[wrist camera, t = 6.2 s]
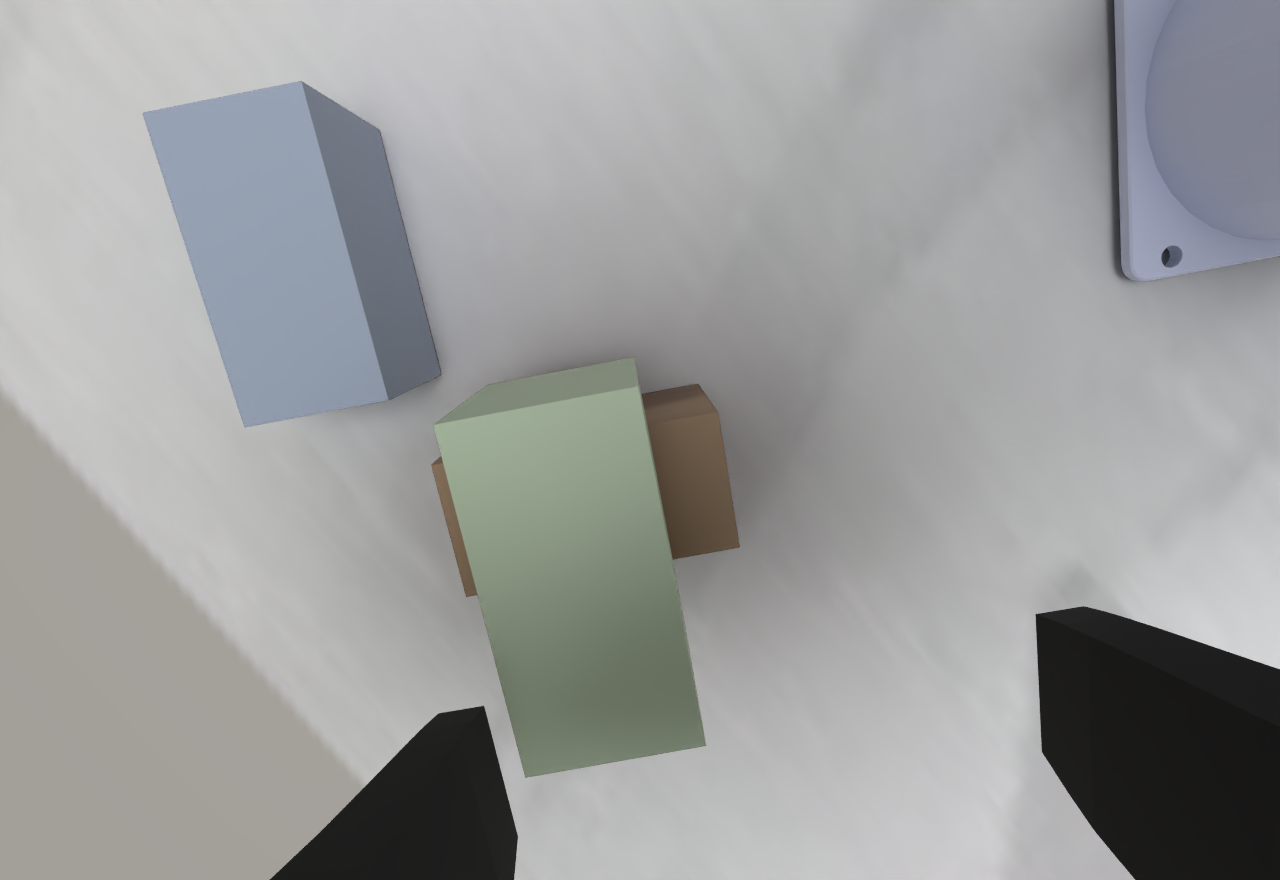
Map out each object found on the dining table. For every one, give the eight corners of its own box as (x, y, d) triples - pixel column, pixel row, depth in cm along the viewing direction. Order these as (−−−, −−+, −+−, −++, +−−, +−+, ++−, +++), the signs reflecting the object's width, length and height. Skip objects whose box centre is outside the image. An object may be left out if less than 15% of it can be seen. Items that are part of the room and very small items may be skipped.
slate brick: (257, 153, 16) (142, 112, 12) (378, 129, 16) (300, 80, 12) (328, 395, 18) (244, 427, 14) (440, 374, 18) (388, 400, 14)
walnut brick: (698, 383, 18) (717, 411, 14) (715, 491, 18) (739, 546, 15) (473, 425, 18) (431, 465, 14) (499, 531, 19) (466, 596, 15)
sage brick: (684, 625, 15) (705, 745, 11) (551, 649, 15) (525, 777, 11) (634, 357, 14) (637, 386, 10) (488, 384, 14) (432, 425, 10)
